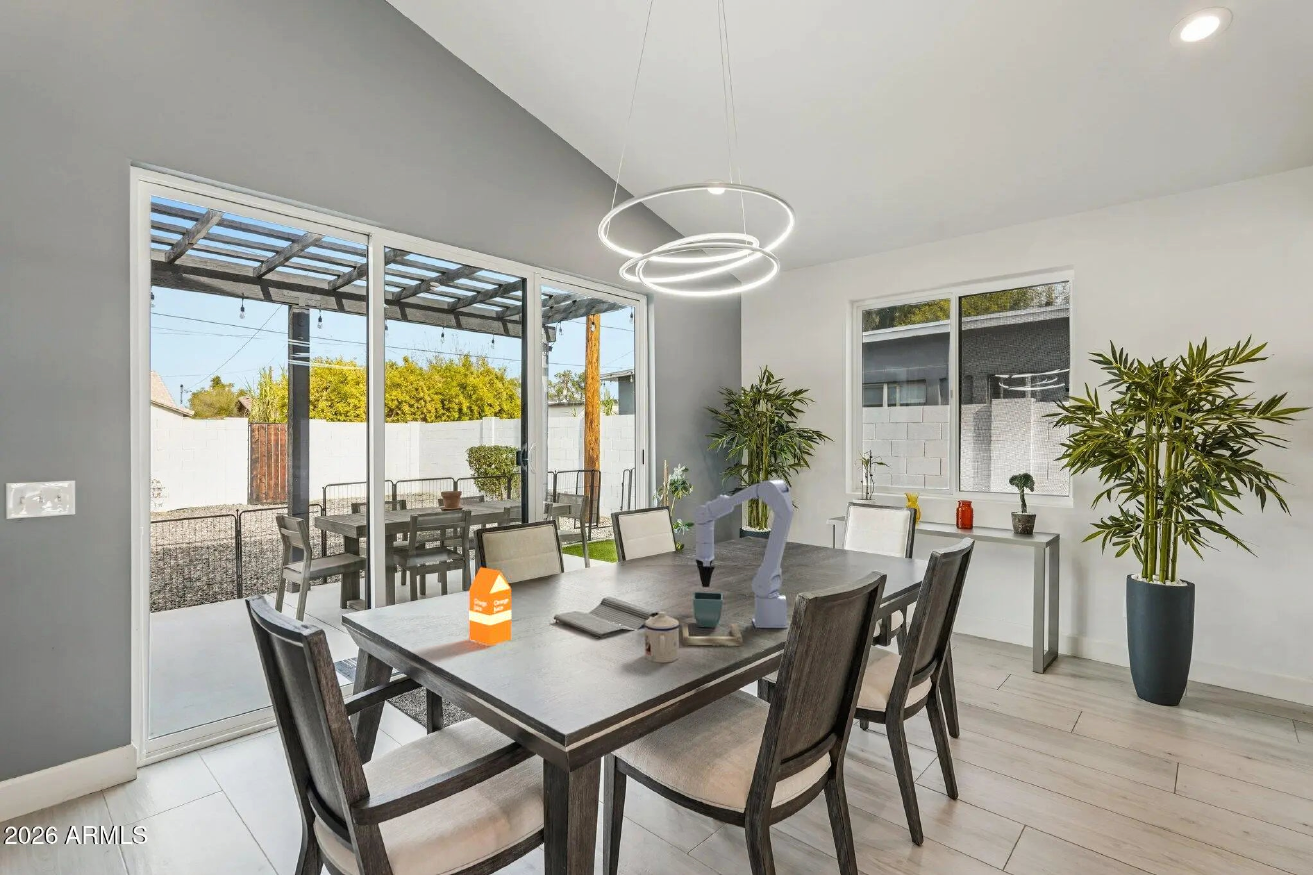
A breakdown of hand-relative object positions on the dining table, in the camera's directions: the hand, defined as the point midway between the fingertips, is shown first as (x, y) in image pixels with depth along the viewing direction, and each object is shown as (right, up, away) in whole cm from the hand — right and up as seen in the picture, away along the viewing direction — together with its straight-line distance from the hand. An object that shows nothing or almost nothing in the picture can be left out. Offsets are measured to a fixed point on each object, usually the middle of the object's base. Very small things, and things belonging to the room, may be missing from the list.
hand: (704, 584), depth 201 cm
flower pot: (0, -10, -13) cm, 16 cm away
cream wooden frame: (0, -9, -24) cm, 26 cm away
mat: (-31, -10, -11) cm, 34 cm away
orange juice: (-62, -10, -27) cm, 69 cm away
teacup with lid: (-14, -10, -42) cm, 45 cm away
